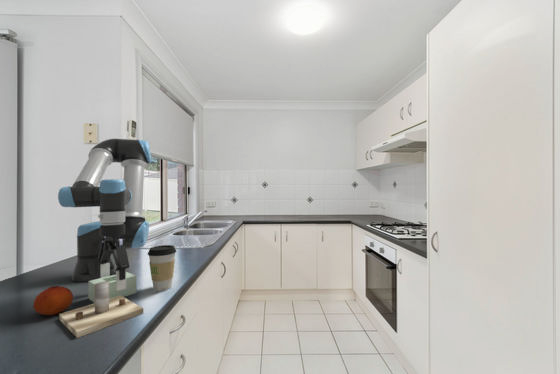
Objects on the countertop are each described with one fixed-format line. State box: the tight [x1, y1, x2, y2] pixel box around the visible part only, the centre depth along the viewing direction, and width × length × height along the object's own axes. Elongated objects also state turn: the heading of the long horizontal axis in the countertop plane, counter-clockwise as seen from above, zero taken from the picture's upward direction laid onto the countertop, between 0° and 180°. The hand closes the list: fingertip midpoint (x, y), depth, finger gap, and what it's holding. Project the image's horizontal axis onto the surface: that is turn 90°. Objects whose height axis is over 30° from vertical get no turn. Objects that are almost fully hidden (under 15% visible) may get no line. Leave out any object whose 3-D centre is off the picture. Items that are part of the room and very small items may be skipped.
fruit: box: [33, 285, 74, 316], centre depth 79 cm, size 9×9×8 cm
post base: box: [58, 281, 144, 339], centre depth 76 cm, size 16×16×10 cm
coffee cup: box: [147, 244, 177, 292], centre depth 98 cm, size 10×10×15 cm
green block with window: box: [88, 271, 138, 304], centre depth 91 cm, size 12×8×6 cm, turn 143°
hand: (112, 285), depth 90 cm, fingers open, 13 cm apart
